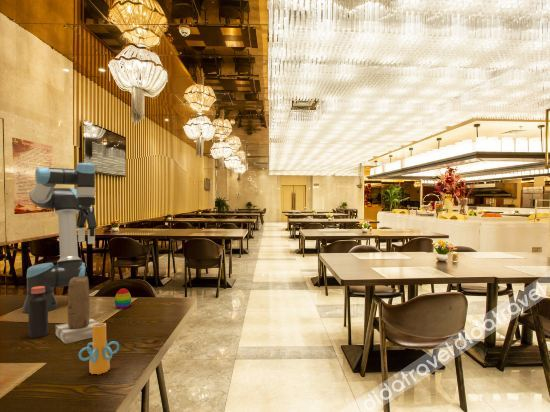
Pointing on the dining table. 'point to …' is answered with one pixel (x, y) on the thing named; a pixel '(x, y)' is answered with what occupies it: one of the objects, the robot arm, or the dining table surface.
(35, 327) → the bottle
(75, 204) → the robot arm
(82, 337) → the platform
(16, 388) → the dining table surface
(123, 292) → the decorative egg
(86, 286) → the brown river rock
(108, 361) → the orange vase with handles
